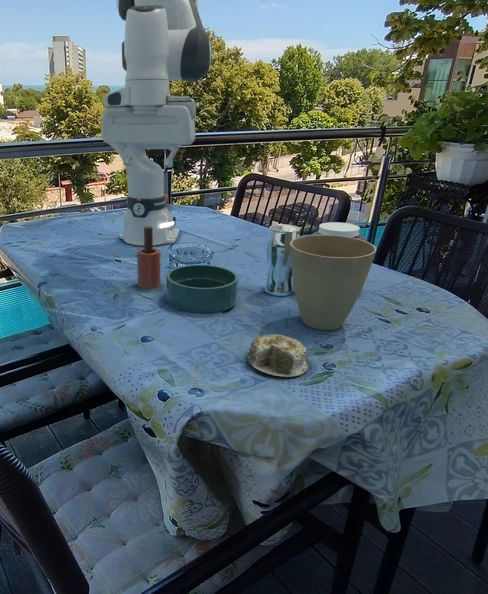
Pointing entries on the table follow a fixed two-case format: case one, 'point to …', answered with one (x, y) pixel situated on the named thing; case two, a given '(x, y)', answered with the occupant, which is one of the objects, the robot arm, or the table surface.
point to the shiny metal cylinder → (280, 259)
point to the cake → (278, 355)
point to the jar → (339, 230)
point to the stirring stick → (148, 239)
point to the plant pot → (328, 277)
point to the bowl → (202, 288)
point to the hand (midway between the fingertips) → (147, 166)
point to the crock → (148, 269)
